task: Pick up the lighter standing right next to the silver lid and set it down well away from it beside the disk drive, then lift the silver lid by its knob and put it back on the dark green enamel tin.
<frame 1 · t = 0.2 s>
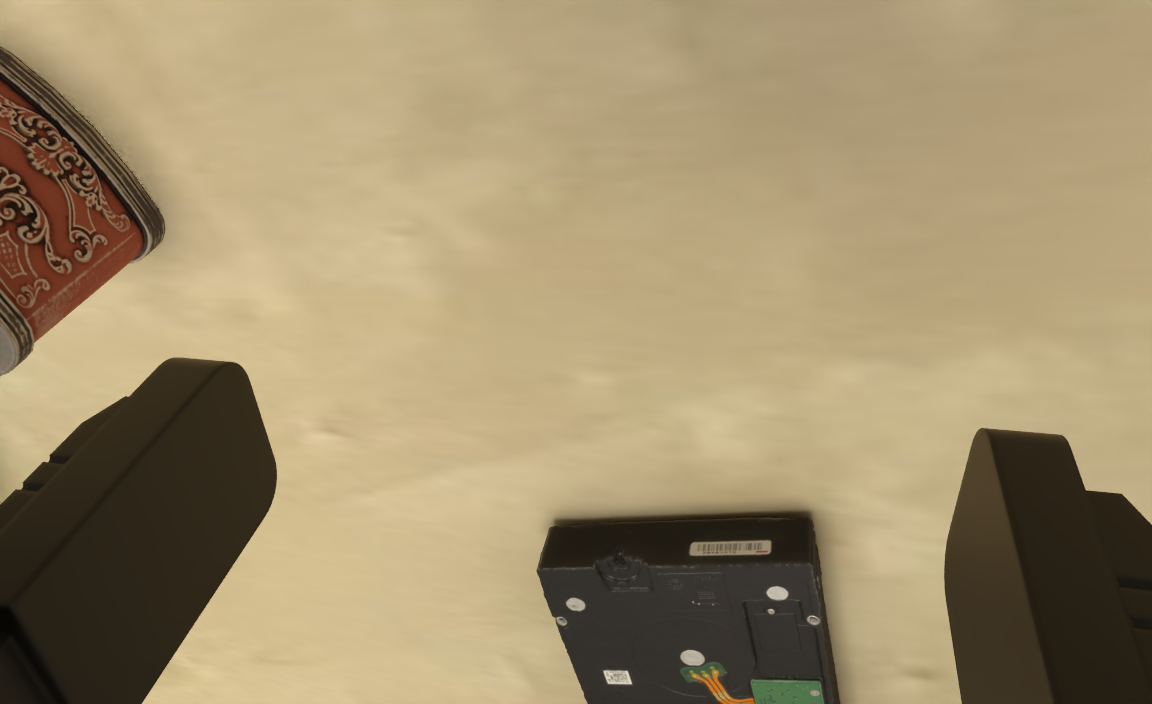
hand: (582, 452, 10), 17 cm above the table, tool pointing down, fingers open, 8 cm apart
disk drive: (708, 636, 39), on the table
lighter: (70, 151, 31), on the table
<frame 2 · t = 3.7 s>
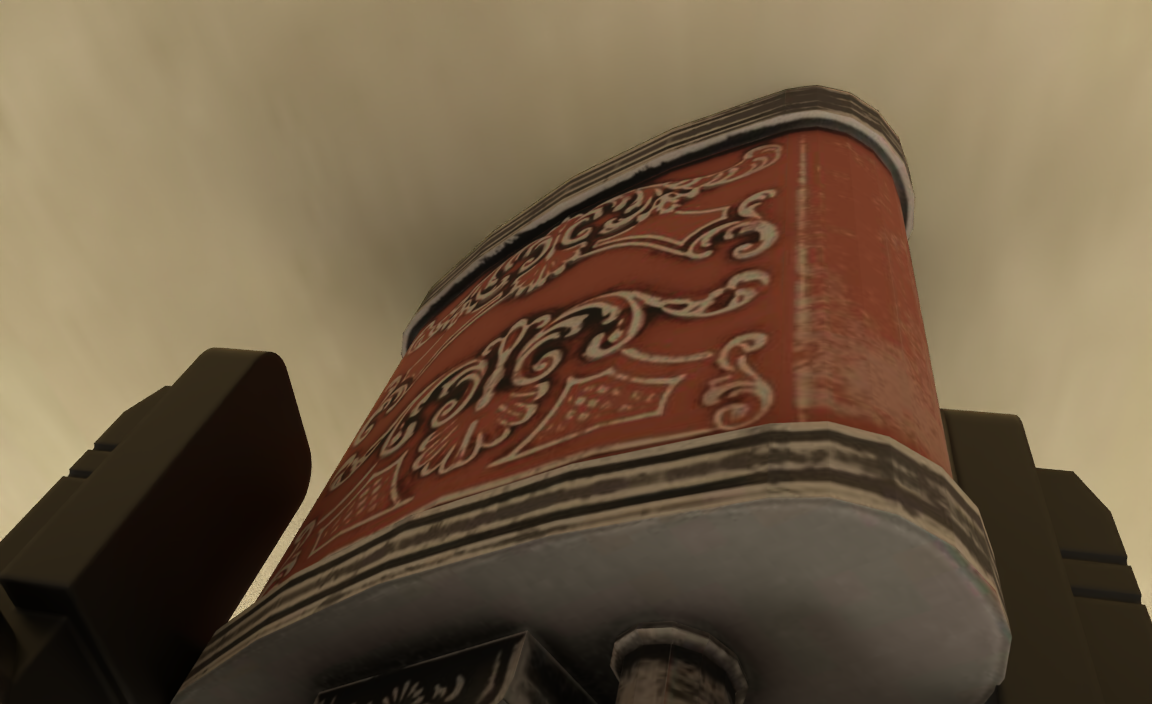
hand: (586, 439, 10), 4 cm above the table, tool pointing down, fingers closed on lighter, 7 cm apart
lighter: (639, 261, 14), on the table, touching gripper
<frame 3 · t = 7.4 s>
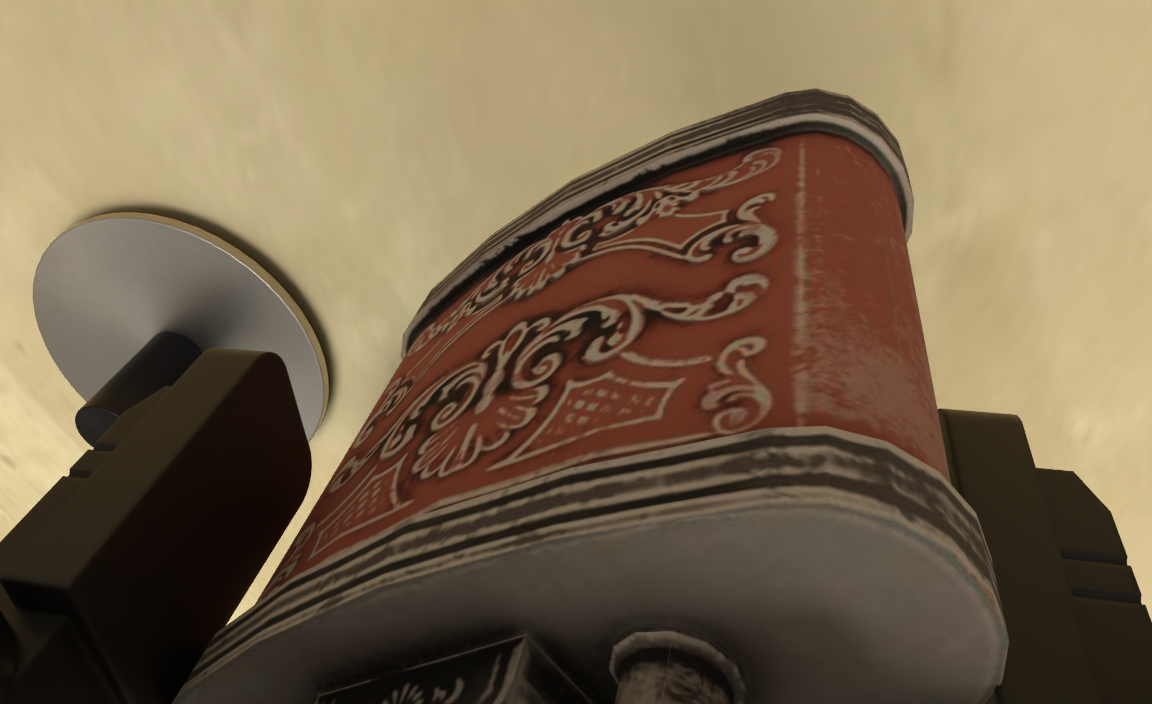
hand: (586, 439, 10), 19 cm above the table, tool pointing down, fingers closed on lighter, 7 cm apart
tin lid: (184, 349, 37), point 1 cm above the table
lighter: (639, 263, 14), point 15 cm above the table, touching gripper
when the fingers open (4 cm above the table, at t = 11.5 s): lighter stays where it is, on the table.
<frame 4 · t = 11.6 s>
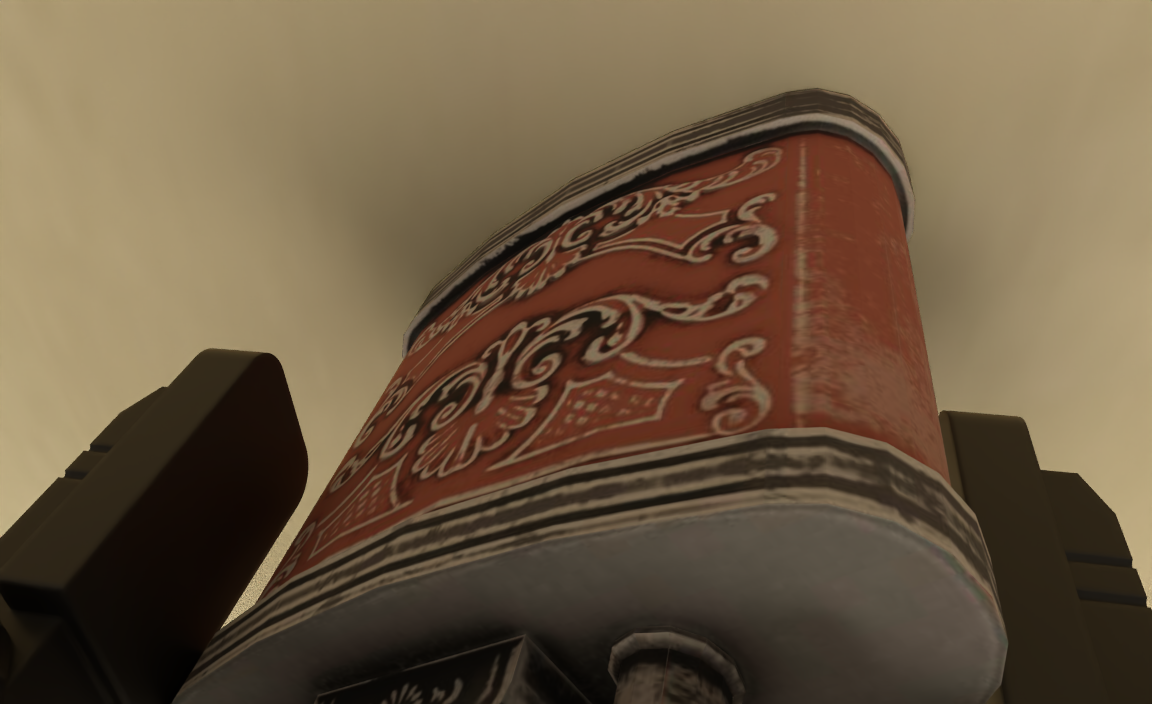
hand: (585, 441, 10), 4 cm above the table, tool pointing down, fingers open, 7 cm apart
lighter: (639, 263, 14), on the table
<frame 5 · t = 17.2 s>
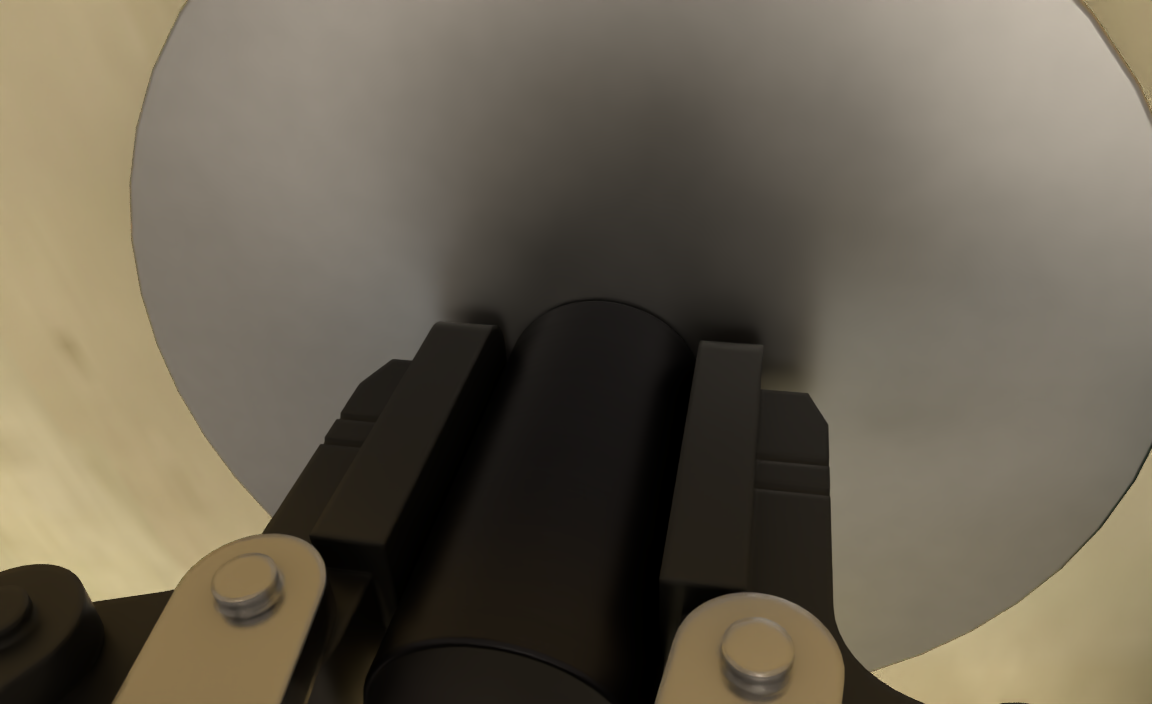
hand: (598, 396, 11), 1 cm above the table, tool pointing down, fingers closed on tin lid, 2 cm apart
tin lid: (612, 358, 12), point 1 cm above the table, touching gripper
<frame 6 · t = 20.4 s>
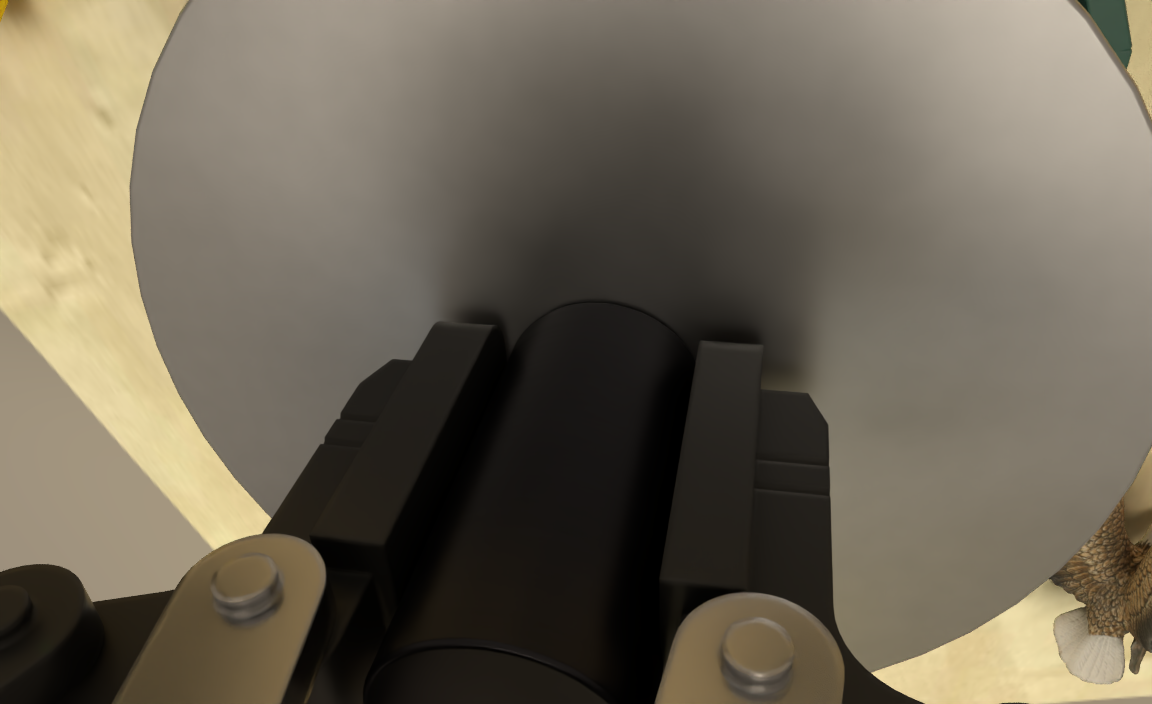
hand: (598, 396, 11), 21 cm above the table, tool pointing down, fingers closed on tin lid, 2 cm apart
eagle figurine: (1114, 511, 37), on the table
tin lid: (612, 359, 12), point 20 cm above the table, touching gripper
when the fingers open (9 cm above the table, at t = 23.5 s): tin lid stays where it is, resting on tin.
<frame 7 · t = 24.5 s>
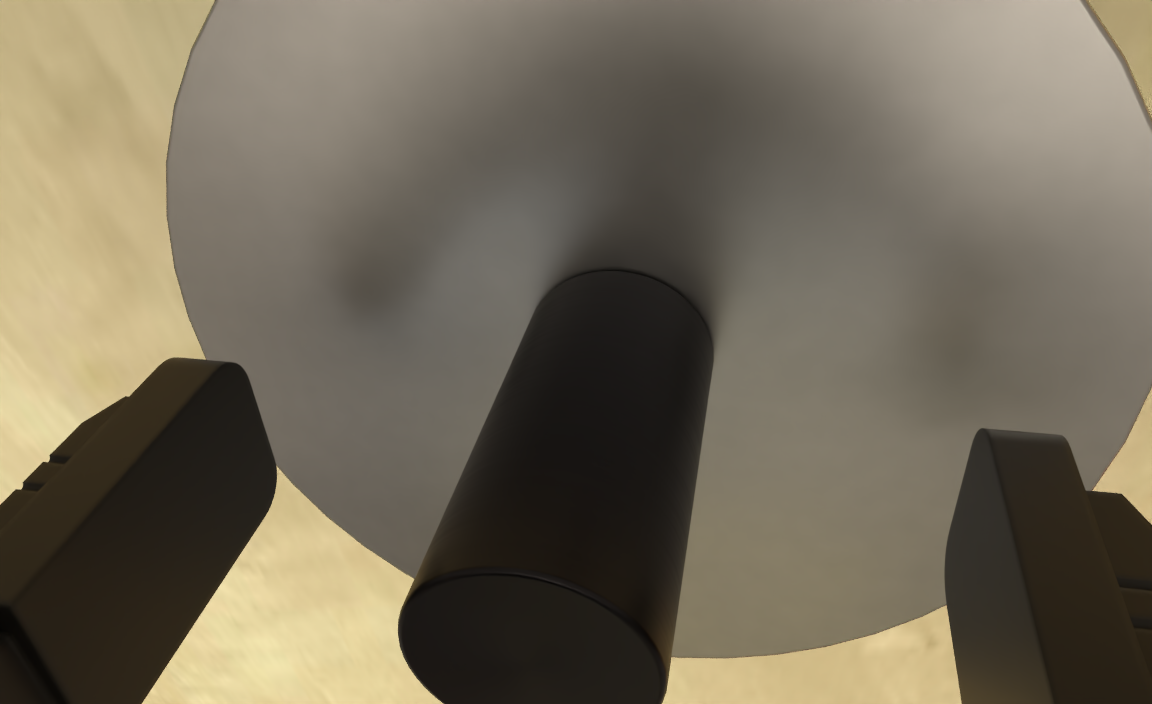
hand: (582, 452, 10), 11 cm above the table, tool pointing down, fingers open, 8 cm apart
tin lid: (625, 328, 12), point 8 cm above the table, touching tin
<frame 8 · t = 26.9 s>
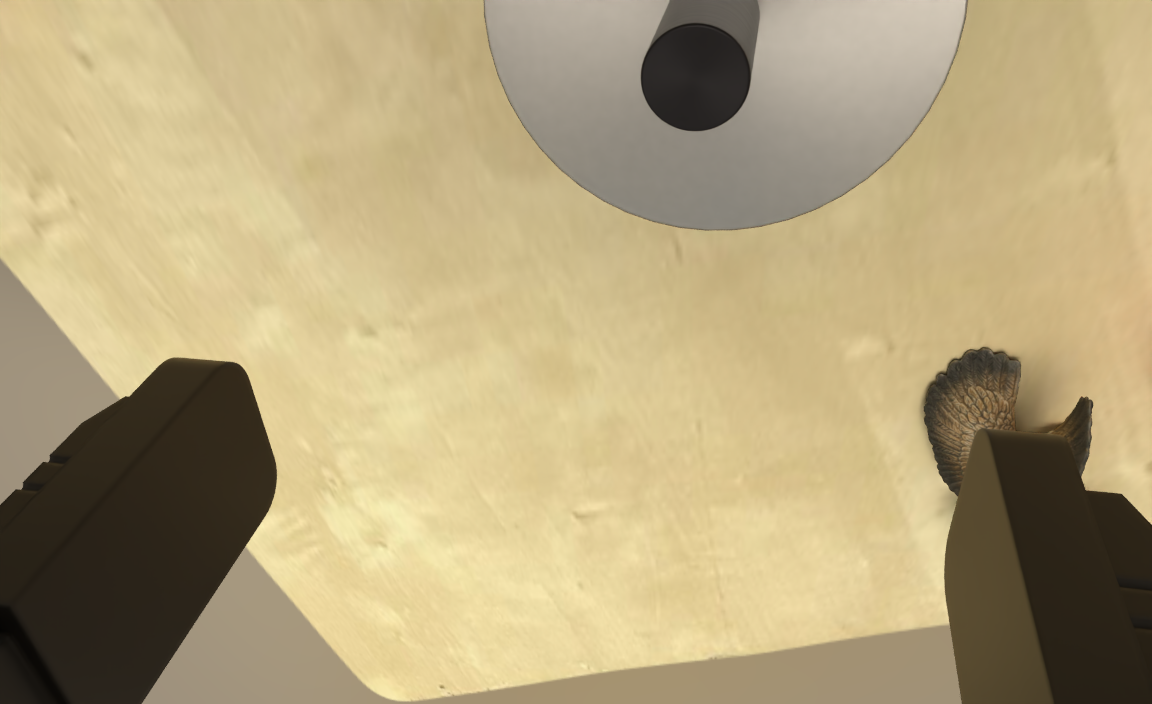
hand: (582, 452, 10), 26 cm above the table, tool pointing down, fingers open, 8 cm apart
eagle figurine: (1012, 429, 40), on the table
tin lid: (714, 12, 24), point 8 cm above the table, touching tin
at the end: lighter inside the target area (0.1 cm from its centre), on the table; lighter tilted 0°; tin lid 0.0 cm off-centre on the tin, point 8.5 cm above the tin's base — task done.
